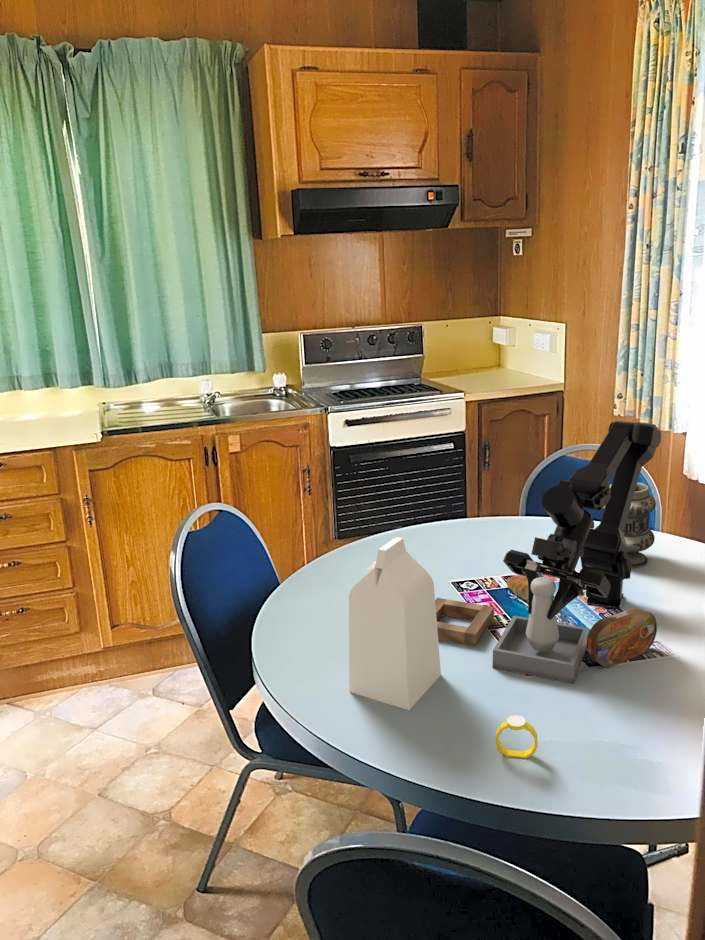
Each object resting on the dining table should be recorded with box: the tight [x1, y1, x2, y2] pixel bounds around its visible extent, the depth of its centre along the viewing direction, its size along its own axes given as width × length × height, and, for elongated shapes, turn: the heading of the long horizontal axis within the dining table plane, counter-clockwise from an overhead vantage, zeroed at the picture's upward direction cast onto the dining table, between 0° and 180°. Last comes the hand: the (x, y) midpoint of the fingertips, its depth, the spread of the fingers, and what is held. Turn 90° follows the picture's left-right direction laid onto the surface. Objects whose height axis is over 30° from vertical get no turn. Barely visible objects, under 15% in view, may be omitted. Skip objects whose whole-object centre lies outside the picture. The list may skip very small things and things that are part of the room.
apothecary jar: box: [603, 481, 657, 569], centre depth 175 cm, size 12×12×18 cm
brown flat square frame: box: [435, 597, 495, 647], centre depth 150 cm, size 12×12×2 cm
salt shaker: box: [526, 576, 559, 652], centre depth 136 cm, size 6×6×13 cm
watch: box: [495, 715, 539, 759], centre depth 112 cm, size 6×3×6 cm, turn 78°
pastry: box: [506, 575, 529, 602], centre depth 164 cm, size 9×7×4 cm
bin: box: [492, 615, 590, 685], centre depth 138 cm, size 14×14×4 cm
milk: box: [348, 536, 442, 711], centre depth 129 cm, size 12×12×26 cm
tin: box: [586, 607, 658, 668], centre depth 136 cm, size 15×3×8 cm, turn 117°
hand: (539, 615), depth 135 cm, fingers closed on salt shaker, 3 cm apart
